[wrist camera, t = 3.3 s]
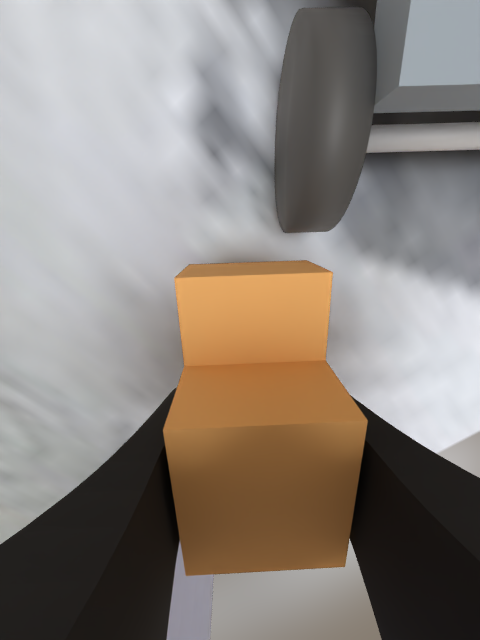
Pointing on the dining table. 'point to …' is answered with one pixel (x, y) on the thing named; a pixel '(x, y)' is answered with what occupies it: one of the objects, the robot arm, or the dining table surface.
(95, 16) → the dining table surface
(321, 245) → the dining table surface
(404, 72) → the trolley
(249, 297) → the block
